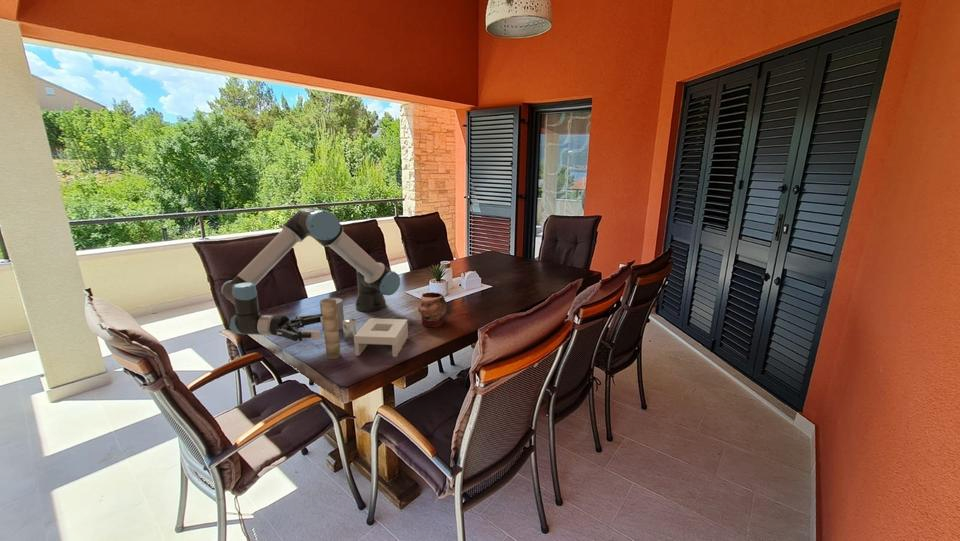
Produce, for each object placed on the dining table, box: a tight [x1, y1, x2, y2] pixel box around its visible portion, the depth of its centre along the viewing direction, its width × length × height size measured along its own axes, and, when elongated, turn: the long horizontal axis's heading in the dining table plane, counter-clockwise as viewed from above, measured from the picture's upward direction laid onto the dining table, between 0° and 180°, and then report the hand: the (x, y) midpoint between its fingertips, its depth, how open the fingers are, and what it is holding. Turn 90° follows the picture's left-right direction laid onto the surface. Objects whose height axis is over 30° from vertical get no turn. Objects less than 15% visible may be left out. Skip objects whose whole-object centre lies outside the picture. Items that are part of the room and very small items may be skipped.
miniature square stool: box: [353, 317, 409, 358], centre depth 153 cm, size 18×16×8 cm
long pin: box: [321, 298, 342, 360], centre depth 143 cm, size 5×5×22 cm
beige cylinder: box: [319, 297, 345, 331], centre depth 171 cm, size 10×10×12 cm
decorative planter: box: [417, 292, 448, 328], centre depth 177 cm, size 20×12×14 cm, turn 168°
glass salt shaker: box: [342, 317, 357, 342], centre depth 160 cm, size 5×5×8 cm
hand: (329, 327), depth 142 cm, fingers open, 13 cm apart
